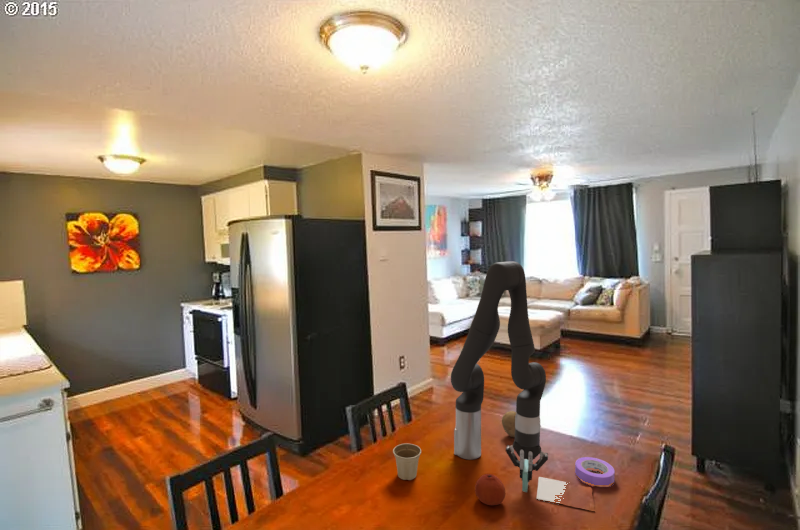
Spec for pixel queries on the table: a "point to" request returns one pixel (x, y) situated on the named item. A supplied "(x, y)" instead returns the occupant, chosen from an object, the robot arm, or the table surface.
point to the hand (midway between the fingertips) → (525, 479)
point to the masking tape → (591, 477)
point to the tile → (525, 476)
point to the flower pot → (407, 460)
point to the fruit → (490, 490)
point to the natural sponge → (509, 423)
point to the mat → (550, 489)
